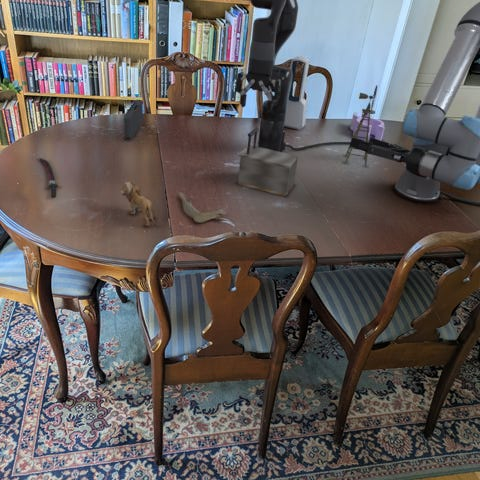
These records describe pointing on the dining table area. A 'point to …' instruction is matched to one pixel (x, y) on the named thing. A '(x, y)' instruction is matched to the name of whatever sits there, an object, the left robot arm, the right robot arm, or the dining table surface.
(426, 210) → the dining table surface
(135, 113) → the handheld gaming console
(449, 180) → the right robot arm
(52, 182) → the sword
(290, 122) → the electronic device
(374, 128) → the clip
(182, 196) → the jawbone
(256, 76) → the left robot arm
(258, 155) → the panel with bar handle
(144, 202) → the lion figurine
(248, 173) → the chest
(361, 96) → the miniature windmill
